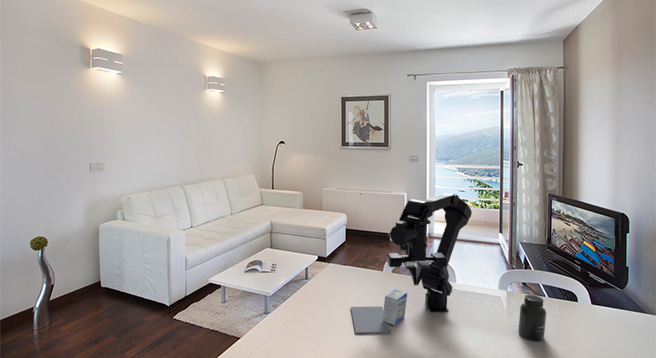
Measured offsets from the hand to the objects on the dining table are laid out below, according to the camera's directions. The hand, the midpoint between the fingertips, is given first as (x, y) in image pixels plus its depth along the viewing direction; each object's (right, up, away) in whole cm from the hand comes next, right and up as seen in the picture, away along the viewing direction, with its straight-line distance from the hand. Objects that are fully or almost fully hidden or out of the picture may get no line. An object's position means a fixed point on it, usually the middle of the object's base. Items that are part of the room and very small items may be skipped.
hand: (415, 285), depth 113 cm
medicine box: (-7, -12, +1) cm, 14 cm away
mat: (-15, -12, +1) cm, 19 cm away
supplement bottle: (+33, -13, -8) cm, 37 cm away
